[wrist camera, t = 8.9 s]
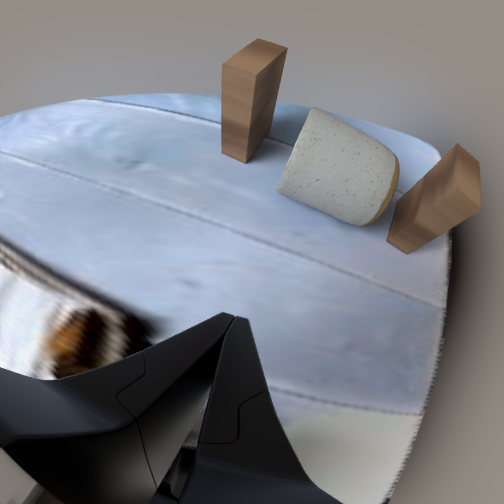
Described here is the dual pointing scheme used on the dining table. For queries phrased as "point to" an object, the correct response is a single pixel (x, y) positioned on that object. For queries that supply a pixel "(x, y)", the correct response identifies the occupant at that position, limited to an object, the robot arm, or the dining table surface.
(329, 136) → the ceramic mug
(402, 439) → the dining table surface
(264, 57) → the walnut bookends
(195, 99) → the dining table surface
